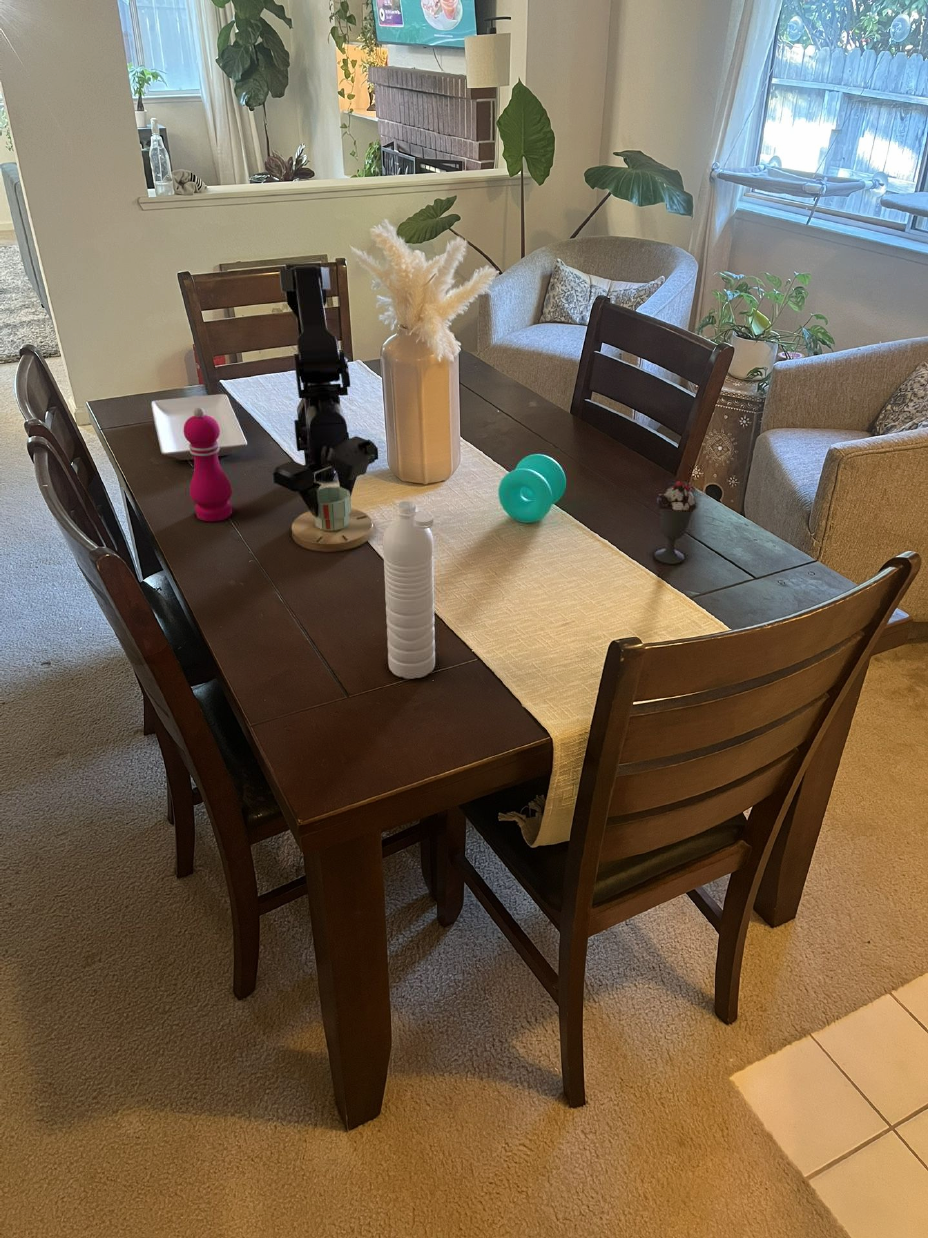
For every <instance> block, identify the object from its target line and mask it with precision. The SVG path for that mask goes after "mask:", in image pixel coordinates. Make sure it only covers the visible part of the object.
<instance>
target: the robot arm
mask: <svg viewBox="0 0 928 1238" xmlns="http://www.w3.org/2000/svg"><path fill="white" fill-rule="evenodd" d="M278 275H279V285H280V292H281V293H284V295H285V300H286V304H287V306H288V308H290V310H291V311H292V313H293V315H294V316H295V318H296V319H295V320H296V329H297V338H296V347H297V349H296V350H297V353H293V361H294V371H295V379H296V387H297V388H296V389H297V395H298V399H300V401H299V403H298V405H297V407H296V417H297V419H294V420H293V421H294V423H293V424H294V437H295V444H296V451H297V452H302V451H303V455H304V456H303V457H304V464H302V463H299V462H298V461H295V460H290V461H287V462H285V463H283V464H280V465H276V466H275V468H274V469H273V471H272V472H273V473H272V476H273V483H274V484H276V485H278V486H281V487H283V488H285V489H287V490H289V491H292V492H294V493H298V494H299V495H300V498H301V499H302V500H303V502H304V504H305V505H306V508H307V509H308V510H309V511H310V512H311V514H312V515H313V516H315V517H317V516H318V498H317V490H318V489H319V488H321V487H322V484H321V483H319V482H327V483H333V482H334V481H335V480H336V478H337V480H338V485H339V487H342V488H344V489H347V490H348V491H349V493H350V497H351V498H352V494H353V491H354V487H355V484H356V482H357V479H358V477H360V476H364V475H365V474H366V473H367V470H368V467H369V466H370V465H371V464H373V463H375V461H377V460H379V448H378V446H377V445H376V443H375V442H374V441H372V440H371V439H365V438H364V437H363V438H362V437H360V436H358V435H356V436H355V435H354V436H353V437H350V433H349V431H348V425H347V421H346V418H345V414H344V410H343V408H342V406H341V397H343V396H348V395H349V390H348V388H351V378H350V371H349V364H348V358H347V357H346V356H345V353H344V352H343V350H340V349H339V345H338V340H337V339H338V338H337V337H336V335H334V334H333V333H332V332H331V331H329V330H328V326H327V325H328V324H327V320H326V319H327V318H326V313H325V311H326V310H325V306H326V304H327V300H328V299H327V298H328V297H327V291H330V290H331V278H330V267H323V266H321V262H298V263H297V262H295V263H285V268H283V269H279V270H278ZM340 380H341V383H337V382H339V381H340Z"/></svg>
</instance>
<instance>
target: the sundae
mask: <svg viewBox="0 0 928 1238" xmlns="http://www.w3.org/2000/svg"><path fill="white" fill-rule="evenodd" d="M691 474H693V472H692V471H687V474H686V476H685V478H683V479H682V480H681V481H676V482H675V484H674V485H672V486H670V487H669V488H668V489H667V490H666V492H665V493H659V494H658V497H657V498H656V504H657V507H658V508H659V511H660V513H659V514H660V518H659V519H660V524H659V525H660V531H661V532H660V533H662V535H663V537H665V538H666V539H667V545H666V548H661V549H658V550H657V551H655V553H654V554H653V556H654V558H655V559H656V560H657V561H658V562H660V563H663V564H667V565H676V564H680V563H682V562H684V560H685V556H684V554H683V553H682V552H680V551H679V550H677V549H675V543H676V541H677V540H678V539H681V538H682V537H683V536H685V534H686V532H687V529H688V527H689V523H690V520H691V518H692V515H693V513H694V512H695V510H697V508H698V506H699V503H698V501H696V500H695V497H694V495H693V493H692V492H691V489H692V487H691V485H689V481H690V480H689V479H690V475H691ZM686 479H687V482H686V483H687V484H684V483H683V482H684V481H685V480H686Z"/></svg>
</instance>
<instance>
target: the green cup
mask: <svg viewBox="0 0 928 1238" xmlns="http://www.w3.org/2000/svg"><path fill="white" fill-rule="evenodd" d="M317 498H318V516H317V517H315V516H314V521H315V526H316V527H318V528H319V529H322V530H326V531H335V530H340V529H343V528H344V527H346V526H347V525H348V524H349V513H350V512H351V508H352V500H351V499H352V496H351V497H350V493H349V491H348V490H347V489H344V488H342V487H340V486H332V485H331V486H330V485H328V486H327V485H326V486H321V487H319V489H318V490H317Z"/></svg>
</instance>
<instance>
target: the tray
mask: <svg viewBox="0 0 928 1238" xmlns="http://www.w3.org/2000/svg"><path fill="white" fill-rule="evenodd" d="M150 403H151V404H150V405H151V411H152V416H153V422H154V427H155V431H156V435H157V440H158V444H159V449H160V452H161V454H162V455H164V456H166V457H169V458H175V459H177V460H179V461H189V460H194V457H193V454H191V453H190V448H189V444H190V442H189V441H187V439H186V438H185V436H184V424H185V422H186V421H187V420H188V419H189V418H190V417H192V416H195V415H194V409H195V408H197V407H201V408H202V409H203V410H204V415H208V416H210V417H212V418H214V419H215V420H216V421H217V423H218V425H219V429H220V435H219V437H218V439H217V440H216V441H218V443H219V445H218V447H219V451H218V452H217V454H218V457H223V456H228V455H232V454H233V453H234V452H236V451H239V450H241V449H242V448H245V447H246V446H247V445H248V441H247V439H246V437H245V435H244V432H243V430H242V428H241V425H240V422H239V419H238V418H237V415H236V413H235V410H234V408H233V407H232V404H231V402H230V399H229V397H228V395H227V394H224V393H220V394H210V395H199V396H197V395H196V396H187V397H178V398H168V399H167V398H166V399H157V400H152V401H151V402H150Z"/></svg>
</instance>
